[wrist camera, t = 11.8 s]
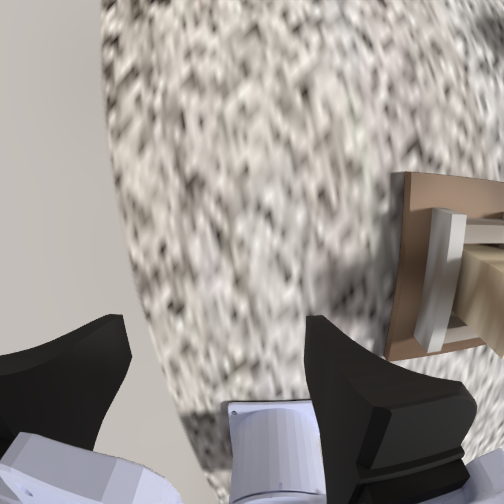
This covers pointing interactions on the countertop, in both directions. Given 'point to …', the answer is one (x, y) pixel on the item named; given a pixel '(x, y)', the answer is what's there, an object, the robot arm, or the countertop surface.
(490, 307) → the birch peg
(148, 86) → the countertop surface
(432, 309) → the socket board
